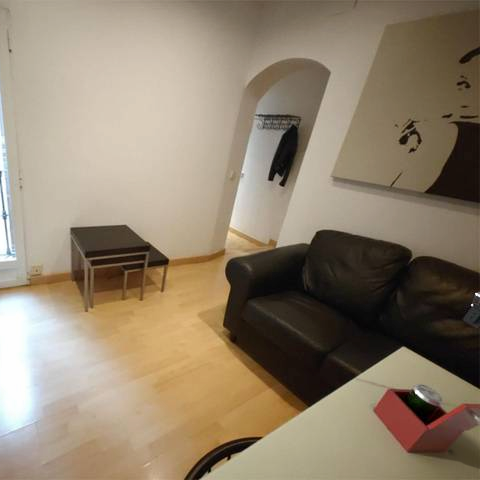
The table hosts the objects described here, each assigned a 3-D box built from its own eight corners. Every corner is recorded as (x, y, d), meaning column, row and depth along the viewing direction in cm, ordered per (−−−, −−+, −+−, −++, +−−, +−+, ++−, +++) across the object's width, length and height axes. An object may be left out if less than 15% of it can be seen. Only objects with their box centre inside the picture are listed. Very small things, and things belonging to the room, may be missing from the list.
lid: (462, 403, 54) (489, 431, 50) (504, 404, 56) (533, 432, 52) (426, 426, 60) (447, 452, 56) (465, 426, 61) (488, 452, 57)
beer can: (394, 426, 68) (419, 395, 63) (389, 409, 73) (412, 379, 68) (420, 439, 66) (448, 407, 61) (414, 421, 70) (439, 390, 66)
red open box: (372, 410, 73) (388, 388, 69) (405, 411, 74) (422, 389, 70) (406, 452, 63) (426, 429, 60) (444, 452, 65) (465, 429, 61)
